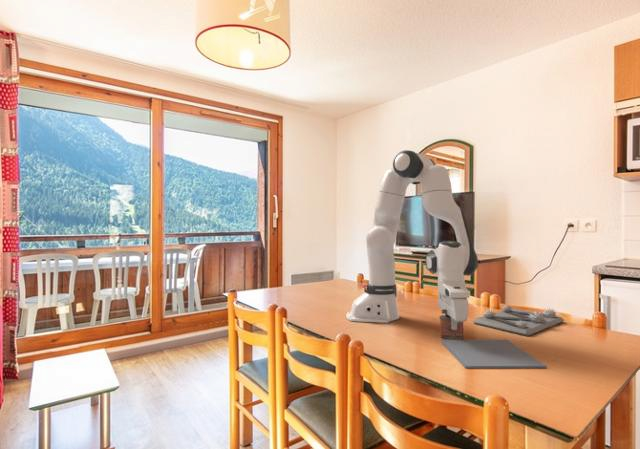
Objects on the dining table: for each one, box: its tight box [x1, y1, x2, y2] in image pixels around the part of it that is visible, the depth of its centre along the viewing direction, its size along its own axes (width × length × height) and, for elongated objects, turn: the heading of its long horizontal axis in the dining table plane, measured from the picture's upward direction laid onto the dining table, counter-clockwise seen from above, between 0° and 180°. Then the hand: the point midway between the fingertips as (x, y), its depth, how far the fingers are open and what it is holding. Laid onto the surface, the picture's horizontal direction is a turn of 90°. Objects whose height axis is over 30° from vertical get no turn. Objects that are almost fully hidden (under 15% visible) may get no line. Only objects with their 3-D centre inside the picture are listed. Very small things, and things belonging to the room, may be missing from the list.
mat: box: [440, 339, 547, 369], centre depth 110 cm, size 22×22×1 cm
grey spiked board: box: [472, 304, 565, 337], centre depth 142 cm, size 30×22×7 cm
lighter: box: [439, 309, 465, 340], centre depth 125 cm, size 8×3×10 cm, turn 84°
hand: (451, 327), depth 125 cm, fingers open, 3 cm apart
